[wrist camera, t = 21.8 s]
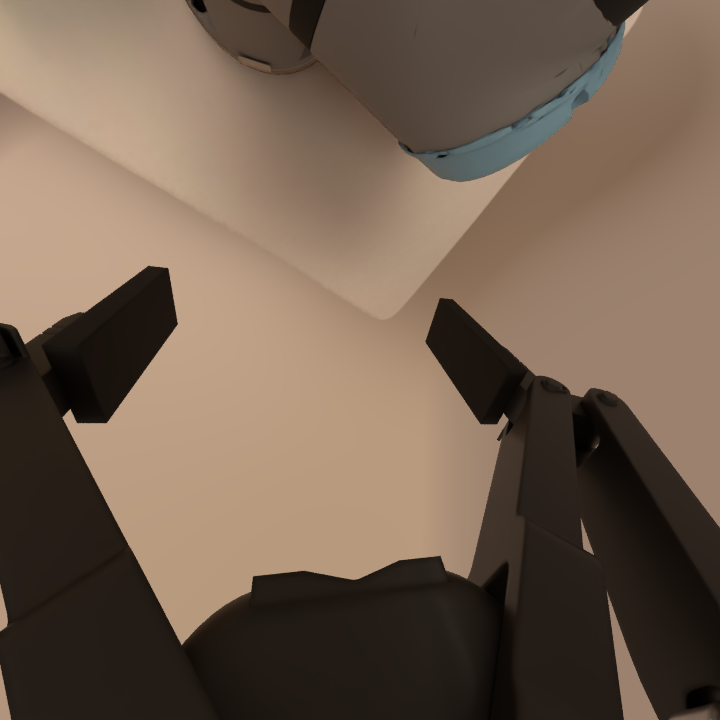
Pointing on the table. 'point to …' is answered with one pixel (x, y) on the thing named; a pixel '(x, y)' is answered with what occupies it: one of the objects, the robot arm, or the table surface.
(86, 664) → the robot arm
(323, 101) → the table surface
